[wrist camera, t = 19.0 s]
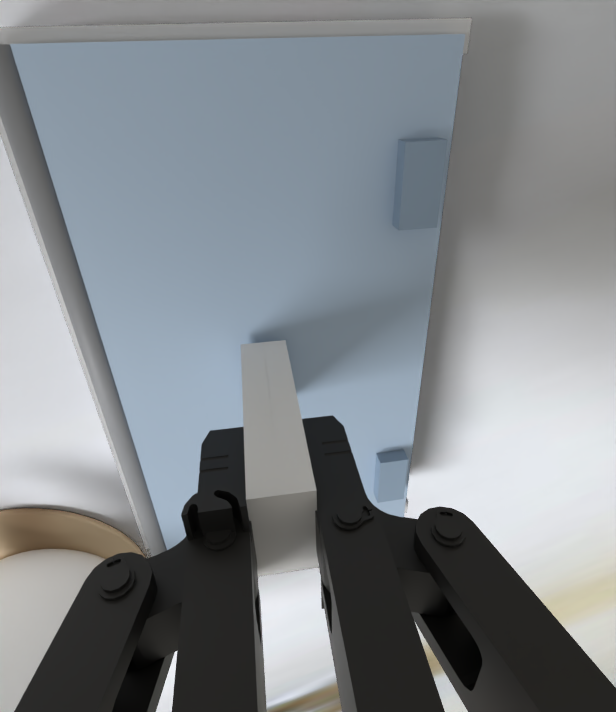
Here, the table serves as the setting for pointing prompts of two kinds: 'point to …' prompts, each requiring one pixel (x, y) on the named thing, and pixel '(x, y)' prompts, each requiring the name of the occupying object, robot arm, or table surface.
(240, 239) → the cover
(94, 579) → the robot arm
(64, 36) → the bracket
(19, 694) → the mug
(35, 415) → the table surface
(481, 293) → the table surface
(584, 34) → the table surface
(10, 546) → the coaster
